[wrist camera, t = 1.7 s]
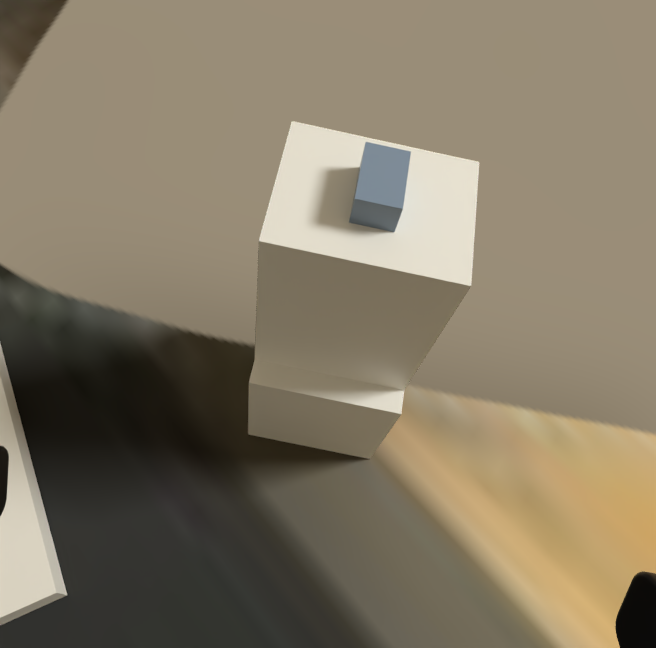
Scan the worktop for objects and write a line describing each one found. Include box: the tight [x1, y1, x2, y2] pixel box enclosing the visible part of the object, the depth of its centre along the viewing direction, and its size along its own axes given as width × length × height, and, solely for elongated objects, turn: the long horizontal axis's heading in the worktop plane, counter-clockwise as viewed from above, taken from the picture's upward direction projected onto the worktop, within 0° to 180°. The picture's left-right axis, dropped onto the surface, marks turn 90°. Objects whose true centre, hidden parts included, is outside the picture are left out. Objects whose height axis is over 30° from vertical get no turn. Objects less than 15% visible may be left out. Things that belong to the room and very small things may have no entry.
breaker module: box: [248, 121, 479, 459], centre depth 18 cm, size 5×4×12 cm
